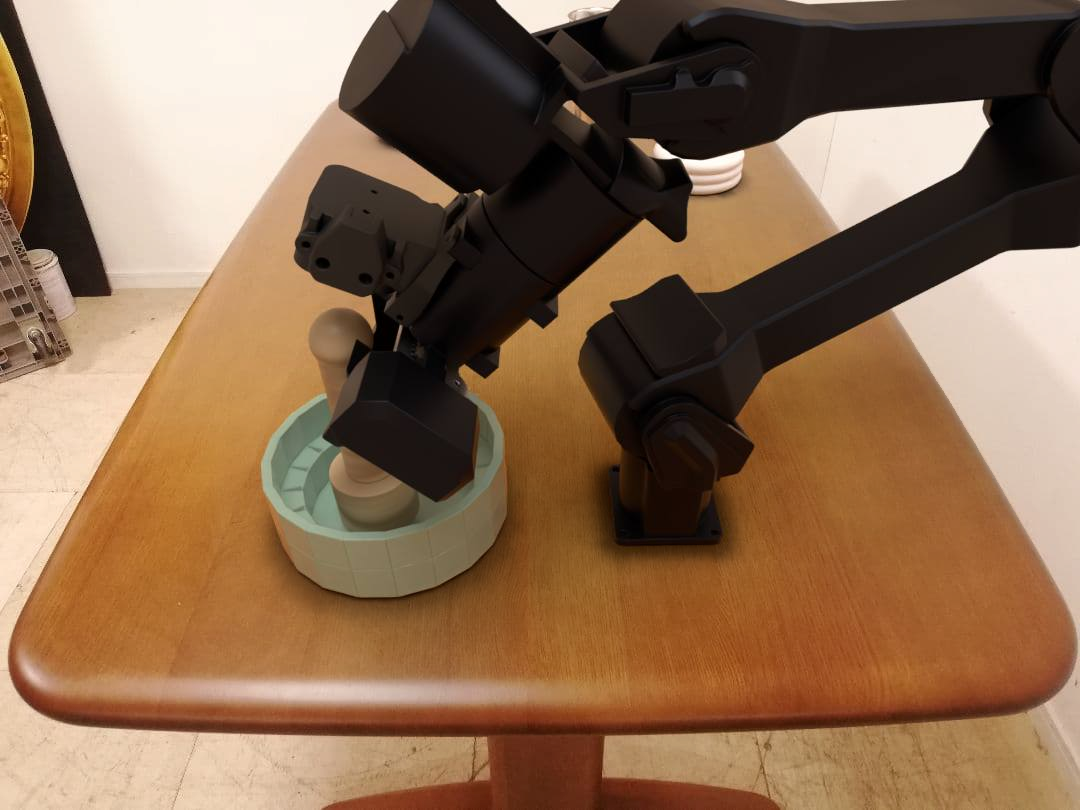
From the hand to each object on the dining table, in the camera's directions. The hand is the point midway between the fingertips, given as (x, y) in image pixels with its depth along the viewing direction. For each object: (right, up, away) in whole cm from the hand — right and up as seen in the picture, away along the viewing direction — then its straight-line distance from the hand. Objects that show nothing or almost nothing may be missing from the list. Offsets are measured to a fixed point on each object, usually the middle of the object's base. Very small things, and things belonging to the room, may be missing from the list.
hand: (336, 421), depth 43 cm
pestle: (+1, -5, +4) cm, 7 cm away
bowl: (+2, -6, +7) cm, 9 cm away
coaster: (+29, +27, +45) cm, 60 cm away
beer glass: (+18, +32, +52) cm, 64 cm away
